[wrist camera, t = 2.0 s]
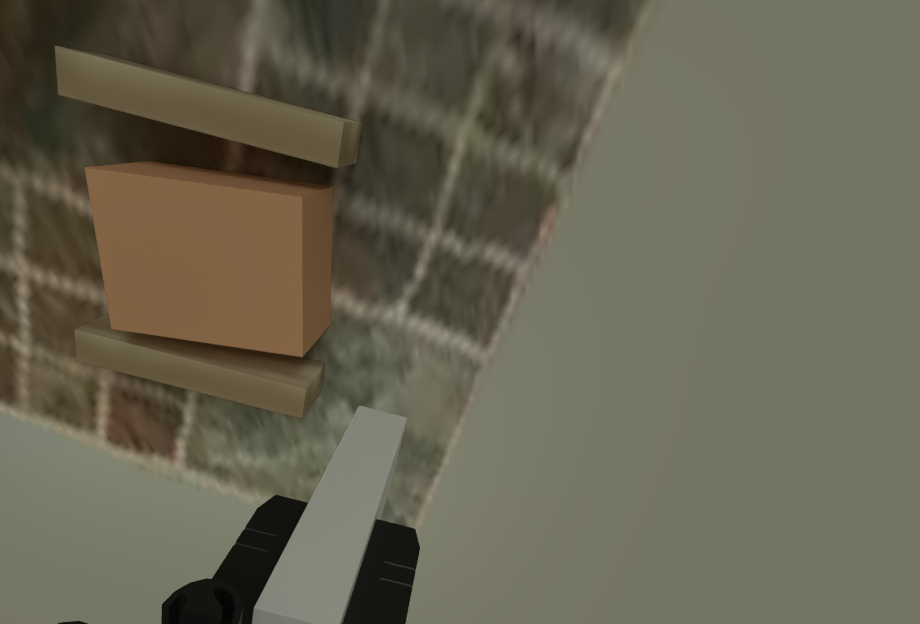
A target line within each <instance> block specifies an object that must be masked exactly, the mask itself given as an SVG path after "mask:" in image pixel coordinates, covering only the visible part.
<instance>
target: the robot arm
mask: <svg viewBox="0 0 920 624" xmlns="http://www.w3.org/2000/svg"><path fill="white" fill-rule="evenodd" d="M406 421H407V418H406V417H402V416H398V415H394V414H390V413H386V412H383V411H379V410H375V409H371V408H367V407H363V406H359V407H358V409H357V410H356V412H355V414H354V416H353V418H352V420H351V422H350V424H349V426H348V428H347V430H346V432H345V434H344V435H343V437H342V439H341V441H340V443H339V445H338V447H337V449H336V451H335V453H334V455H333V457H332V459H331V461H330V462H329V464H328V466H327V468H326V470H325V472H324V474H323V476H322V478H321V480H320V482H319V484H318V486H317V487H316V489H315V491H314V493H313V495H312V497H311V499H310V501H309V503H306V502H302V501H298V500H294V499H290V498H286V497H283V496H279V495H275V496H274V497H272V498H271V499H269V500H268V501H267V502H265V503H264V504H263V505H261V506H260V507H259V508H257V510H256V511H255V513H254V515H253V516H252V518H251V519H250V521H249V522H248V524H247V525H246V528H245V530H243V532H242V533H241V535H240V536H239V538H238V539H237V541H236V543H235V545H234V546H233V547H232V549H231V550H230V552H229V553H228V555H227V556H226V558H225V559H224V561H223V562H222V564H221V565H220V567H219V569H218V570H217V572H216V573H215V575H214V576H213V578H212V579H203V580H199V581H195V582H191V583H189V584H187V585H185V586H183V587H182V588H180V589H178V590H176V591H175V592H174V593H173V594H172V595H171V596H170V597H169V598H168V599H167V600H166V601H165V602H164V603H163V604H162V624H405V623H406V617H407V612H408V607H409V602H410V596H411V592H412V586H413V581H414V576H415V570H416V566H417V561H418V556H419V550H420V546H419V542H418V538H417V534H416V530H415V529H414V528H410V527H406V526H402V525H398V524H394V523H390V522H386V521H382V520H380V519H381V516H382V513H383V509H384V506H385V503H386V500H387V497H388V493H389V490H390V487H391V483H392V479H393V474H394V470H395V466H396V462H397V458H398V454H399V450H400V446H401V442H402V437H403V433H404V429H405V425H406ZM58 624H87V623H84V622H81V621H75V622H62V623H58Z"/></svg>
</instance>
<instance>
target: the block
mask: <svg viewBox="0 0 920 624" xmlns="http://www.w3.org/2000/svg"><path fill="white" fill-rule="evenodd" d="M85 173H86V179H87V185H88V191H89V197H90V203H91V209H92V215H93V221H94V227H95V233H96V239H97V245H98V251H99V257H100V263H101V269H102V275H103V281H104V287H105V293H106V299H107V306H108V312H109V318H110V324H111V329H116V330H122V331H129V332H136V333H143V334H149V335H156V336H163V337H170V338H176V339H183V340H190V341H197V342H203V343H210V344H217V345H224V346H231V347H237V348H244V349H251V350H258V351H264V352H271V353H278V354H285V355H291V356H298V357H303V356H304V355H305V354H306V353H307V352H308V350H309V349H310V348H311V347H312V346H313V345H314V343H315V342H316V341H317V340H318V339H319V338H320V336H321V335H322V334H323V333H324V332H325V331H326V329H327V328H328V327H329V326H330V321H331V276H332V231H333V186H329V185H322V184H314V183H307V182H300V181H292V180H285V179H278V178H270V177H263V176H256V175H248V174H241V173H234V172H226V171H219V170H212V169H204V168H197V167H190V166H182V165H175V164H168V163H160V162H153V161H144V162H134V163H124V164H114V165H104V166H94V167H85Z"/></svg>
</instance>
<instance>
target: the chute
mask: <svg viewBox="0 0 920 624" xmlns="http://www.w3.org/2000/svg"><path fill="white" fill-rule="evenodd" d="M55 57H56V72H57V86H58V95H61V96H65V97H69V98H73V99H77V100H80V101H84V102H88V103H92V104H96V105H99V106H103V107H107V108H111V109H115V110H118V111H122V112H126V113H130V114H134V115H137V116H141V117H145V118H149V119H153V120H156V121H160V122H164V123H168V124H172V125H175V126H179V127H183V128H187V129H190V130H194V131H198V132H202V133H206V134H209V135H213V136H217V137H221V138H225V139H228V140H232V141H236V142H240V143H244V144H247V145H251V146H255V147H259V148H263V149H266V150H270V151H274V152H278V153H282V154H285V155H289V156H293V157H297V158H301V159H304V160H308V161H312V162H316V163H320V164H323V165H327V166H331V167H335V168H340V167H344V166H348V165H352V164H356V162H357V155H358V149H359V142H360V136H361V129H362V123H361V122H358V121H354V120H350V119H346V118H342V117H339V116H335V115H331V114H327V113H324V112H320V111H316V110H312V109H309V108H305V107H301V106H297V105H293V104H290V103H286V102H282V101H278V100H275V99H271V98H267V97H263V96H259V95H256V94H252V93H248V92H244V91H241V90H237V89H233V88H229V87H225V86H222V85H218V84H214V83H210V82H207V81H203V80H199V79H195V78H191V77H188V76H184V75H180V74H176V73H173V72H169V71H165V70H161V69H157V68H154V67H150V66H146V65H142V64H139V63H135V62H131V61H127V60H124V59H120V58H116V57H112V56H108V55H103V54H98V53H92V52H87V51H81V50H76V49H70V48H65V47H59V46H55ZM74 330H75V345H76V359H77V361H79V362H83V363H86V364H90V365H94V366H98V367H102V368H106V369H110V370H114V371H118V372H122V373H125V374H129V375H133V376H137V377H141V378H145V379H149V380H153V381H157V382H161V383H164V384H168V385H172V386H176V387H180V388H184V389H188V390H192V391H196V392H199V393H203V394H207V395H211V396H215V397H219V398H223V399H227V400H231V401H235V402H238V403H242V404H246V405H250V406H254V407H258V408H262V409H266V410H270V411H273V412H277V413H281V414H285V415H289V416H293V417H297V418H301V419H302V418H303V416H304V415H305V414H306V412H307V411H308V409H309V408H310V406H311V405H312V403H313V402H314V400H315V399H316V397H317V396H318V395H319V393H320V392H321V386H322V380H323V373H324V367H325V364H324V363H320V362H316V361H312V360H308V359H305V358H301V357H297V356H291V355H285V354H278V353H271V352H264V351H258V350H251V349H244V348H237V347H231V346H224V345H217V344H210V343H203V342H197V341H190V340H183V339H176V338H170V337H163V336H156V335H149V334H143V333H136V332H129V331H122V330H116V329H111V324H110V318H109V313H108V314H106V315H104V316H102V317H100V318H98V319H95V320H93V321H91V322H89V323H87V324H85V325H83V326H81V327H79V328H76V329H74Z"/></svg>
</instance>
